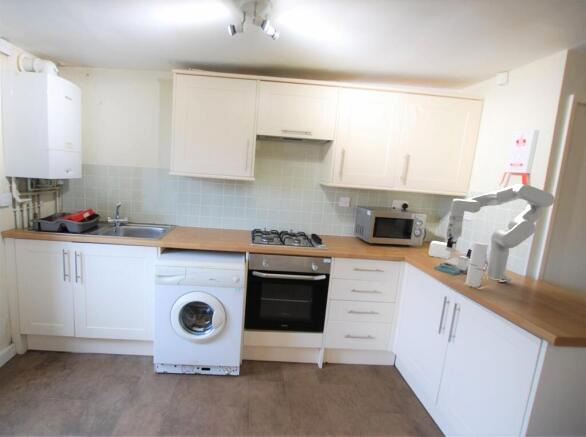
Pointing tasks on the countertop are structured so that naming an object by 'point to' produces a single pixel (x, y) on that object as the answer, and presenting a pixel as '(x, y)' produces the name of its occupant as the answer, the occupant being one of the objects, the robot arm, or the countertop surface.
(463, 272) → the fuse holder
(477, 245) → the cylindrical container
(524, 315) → the countertop surface
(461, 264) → the fuse
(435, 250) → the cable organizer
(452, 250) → the fuse
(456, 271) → the parts tray
